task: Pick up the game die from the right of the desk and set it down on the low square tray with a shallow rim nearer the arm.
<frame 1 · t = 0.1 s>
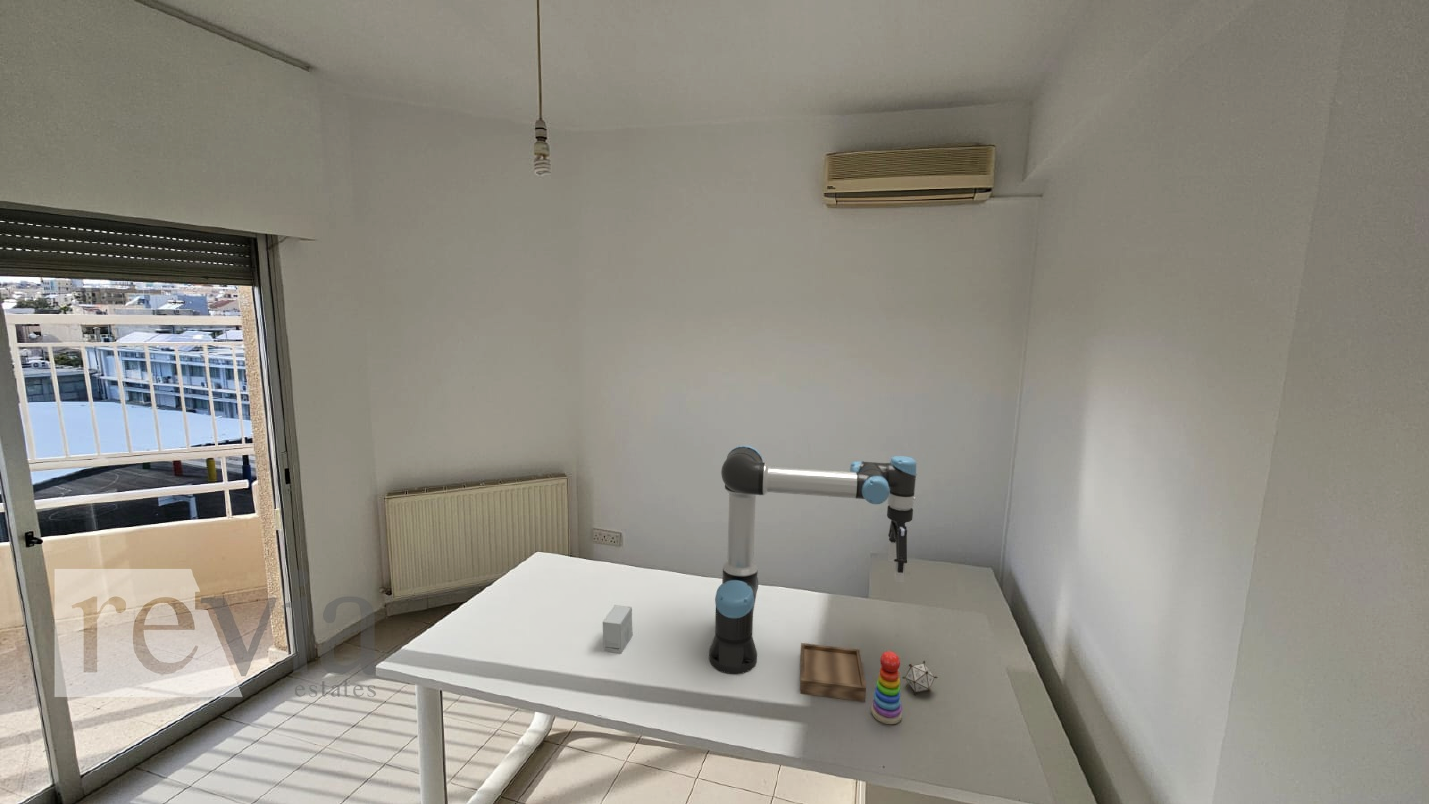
hand: (895, 571, 170), 28 cm above the table, fingers open, 13 cm apart
skincare box: (617, 643, 176), on the table
stacking toy: (886, 715, 147), on the table
square tray: (830, 676, 162), on the table
game die: (918, 690, 157), on the table
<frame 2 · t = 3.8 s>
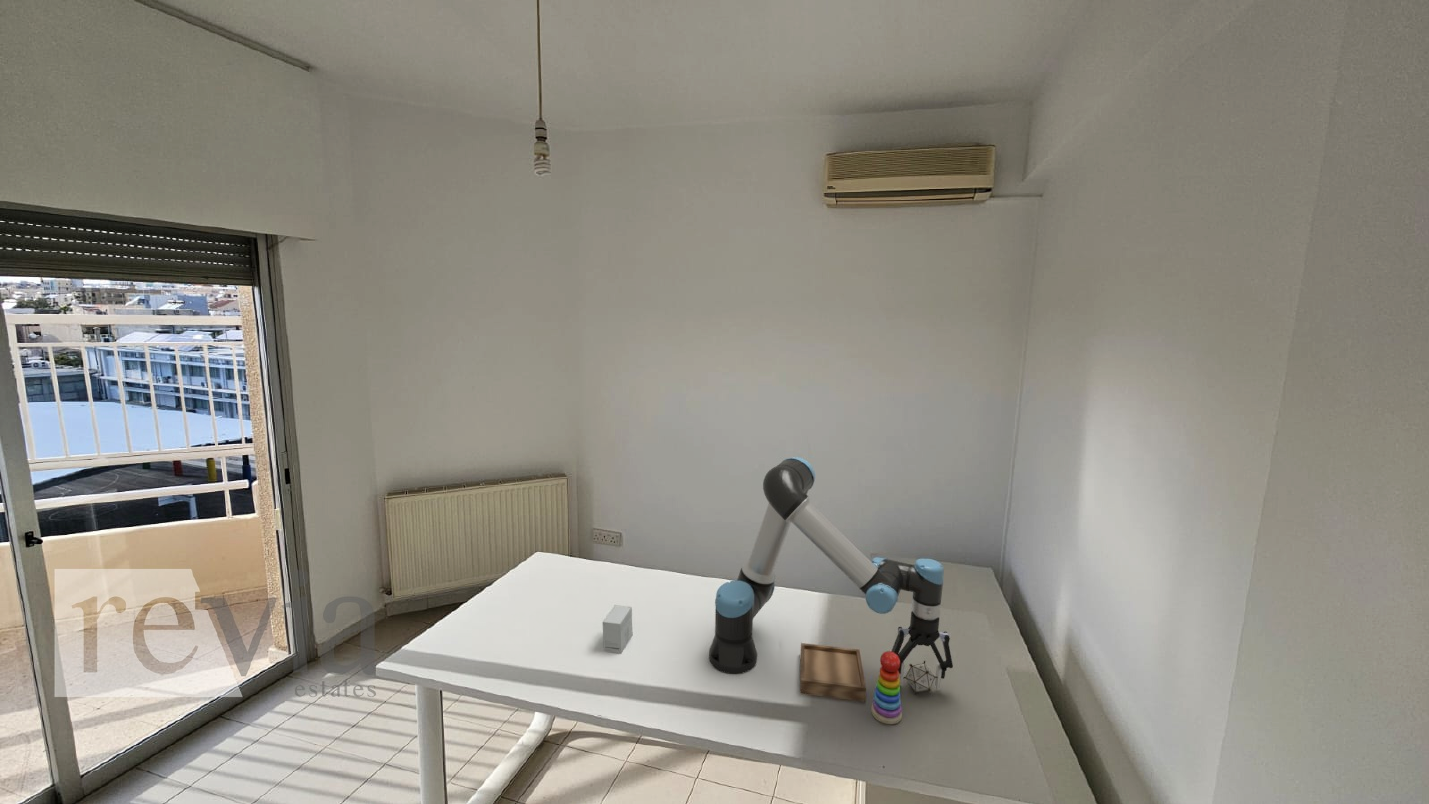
hand: (918, 684, 157), 2 cm above the table, fingers closed on game die, 9 cm apart
game die: (918, 690, 157), on the table, touching gripper
everything else where it was.
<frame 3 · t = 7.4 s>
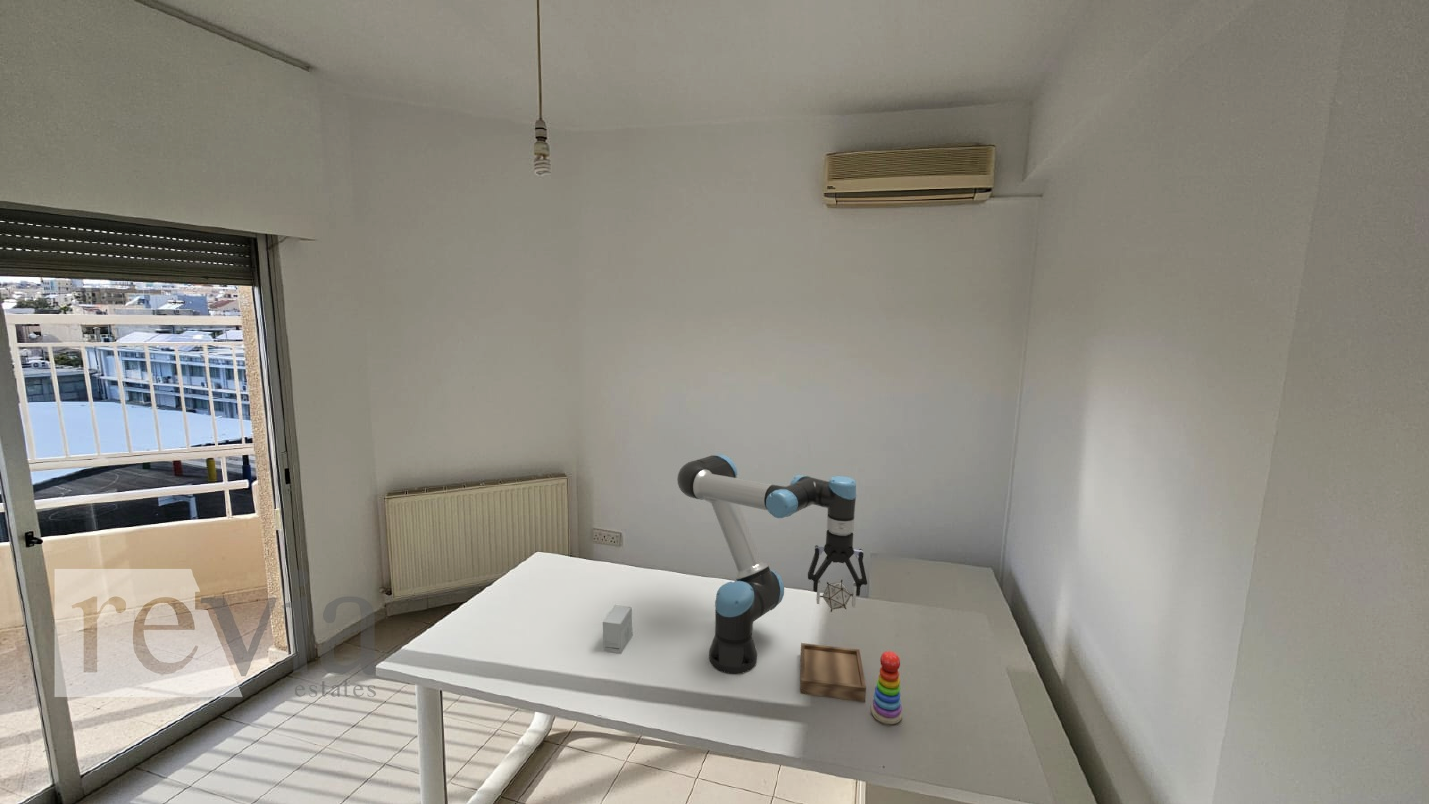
hand: (835, 603, 158), 24 cm above the table, fingers closed on game die, 9 cm apart
game die: (835, 609, 158), point 22 cm above the table, touching gripper
everything else where it was.
when the fingers open (5 cm above the table, at t = 11.3 s): game die stays where it is, resting on square tray.
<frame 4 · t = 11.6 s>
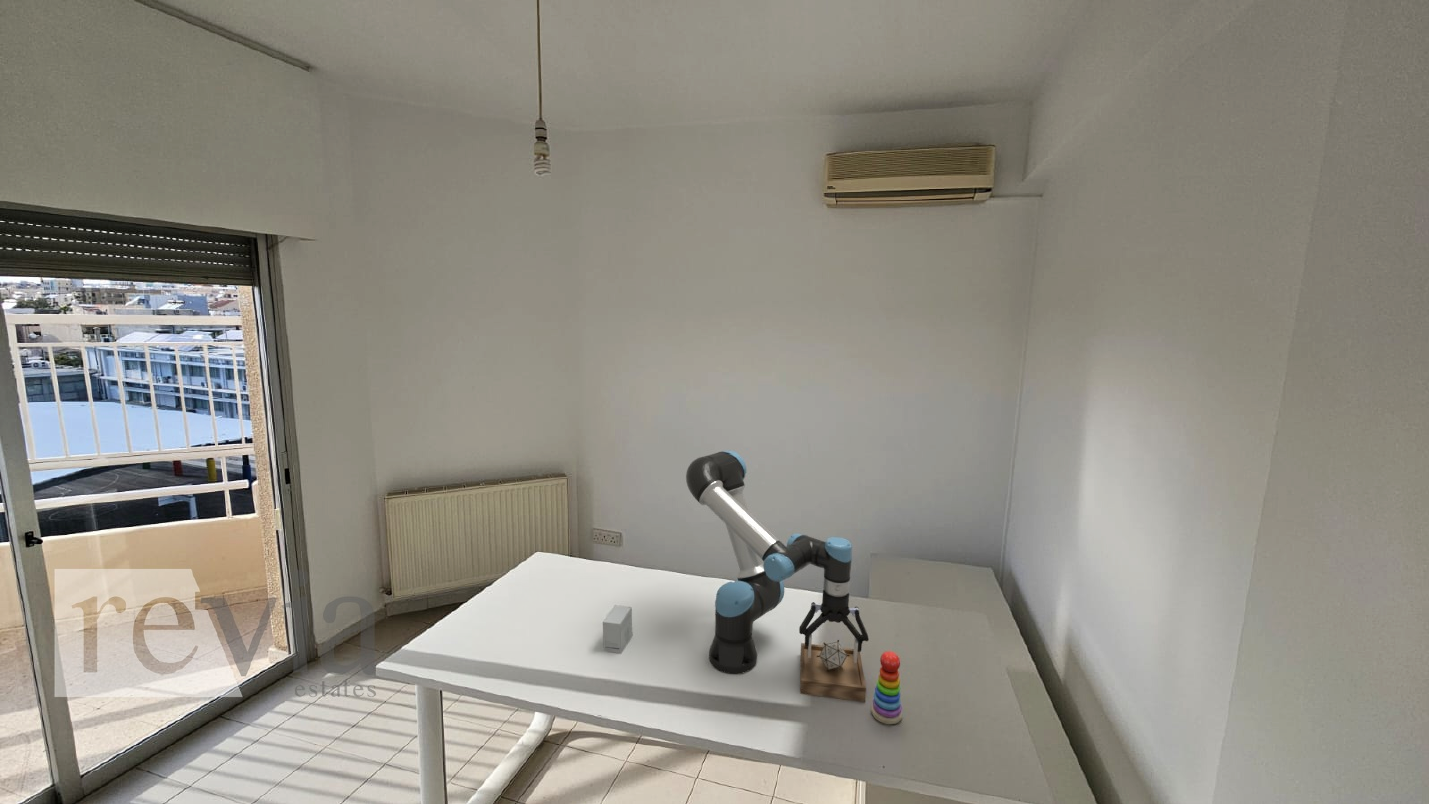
hand: (831, 657, 161), 6 cm above the table, fingers open, 13 cm apart
game die: (832, 668, 161), point 3 cm above the table, touching square tray
everything else where it was.
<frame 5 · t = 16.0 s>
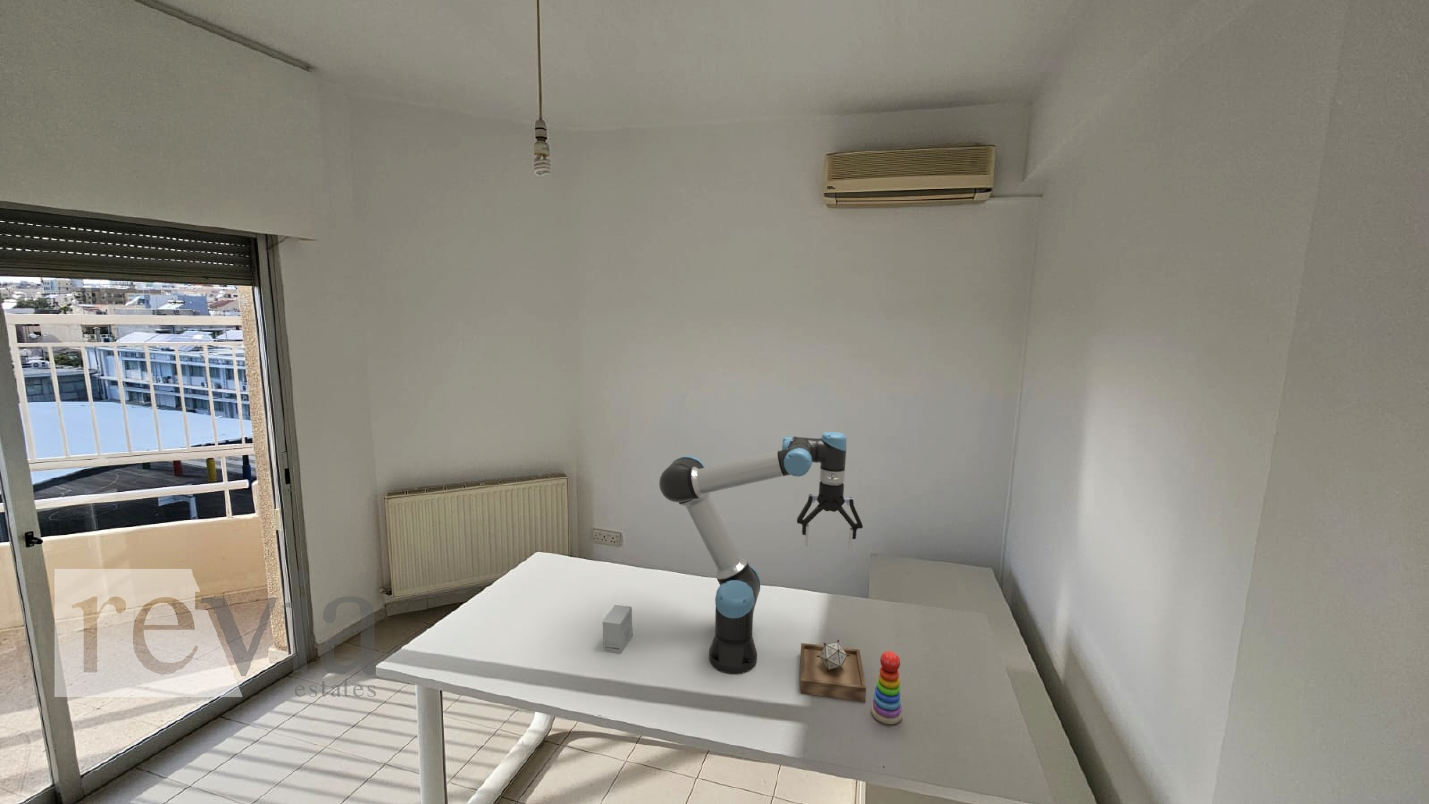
hand: (828, 546, 171), 35 cm above the table, fingers open, 13 cm apart
nothing on the table moved.
at the end: game die inside the target area on the square tray (0.3 cm from its centre), point 2.8 cm above the square tray's base; game die touching square tray; the gripper is holding nothing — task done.
